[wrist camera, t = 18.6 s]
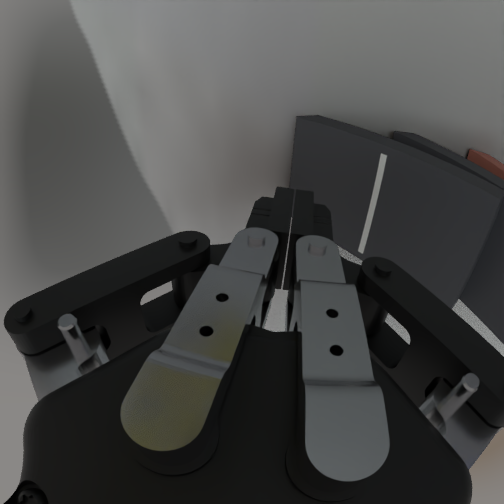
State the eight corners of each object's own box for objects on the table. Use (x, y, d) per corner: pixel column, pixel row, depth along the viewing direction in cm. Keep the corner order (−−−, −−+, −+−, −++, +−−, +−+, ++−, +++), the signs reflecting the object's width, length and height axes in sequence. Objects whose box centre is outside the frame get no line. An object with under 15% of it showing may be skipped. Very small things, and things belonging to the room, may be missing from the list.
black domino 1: (319, 115, 17) (505, 191, 10) (307, 206, 20) (458, 298, 13) (295, 116, 16) (500, 199, 9) (285, 214, 19) (446, 317, 12)
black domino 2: (414, 133, 16) (573, 228, 8) (393, 219, 20) (517, 330, 11) (393, 131, 15) (566, 234, 7) (373, 223, 19) (502, 344, 11)
